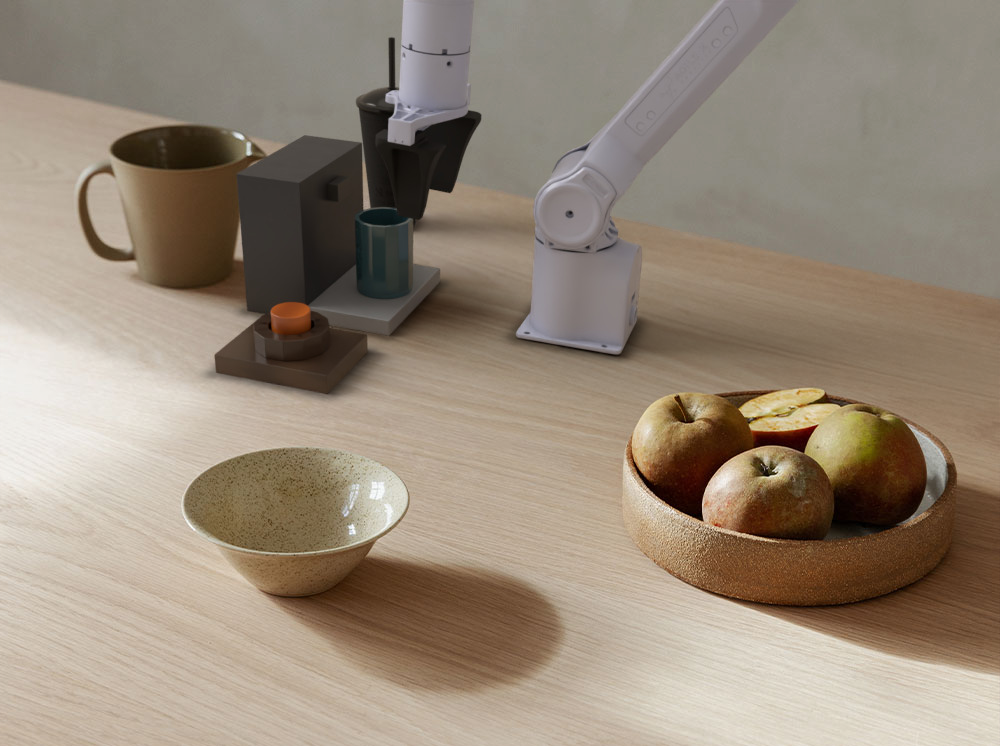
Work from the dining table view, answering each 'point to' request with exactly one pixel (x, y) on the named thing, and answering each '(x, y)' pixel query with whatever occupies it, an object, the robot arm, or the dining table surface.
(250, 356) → the button block
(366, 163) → the drinking cup
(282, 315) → the brew button
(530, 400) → the dining table surface
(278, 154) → the coffee maker
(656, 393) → the dining table surface
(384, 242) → the creamer cup
